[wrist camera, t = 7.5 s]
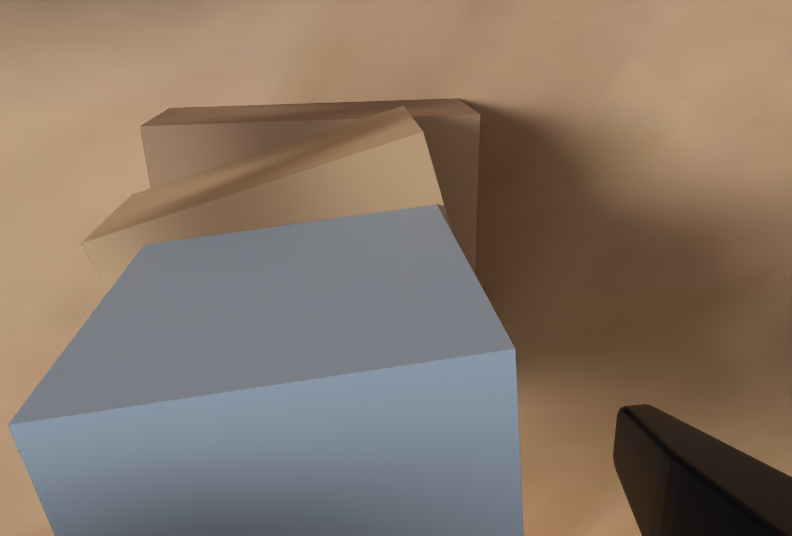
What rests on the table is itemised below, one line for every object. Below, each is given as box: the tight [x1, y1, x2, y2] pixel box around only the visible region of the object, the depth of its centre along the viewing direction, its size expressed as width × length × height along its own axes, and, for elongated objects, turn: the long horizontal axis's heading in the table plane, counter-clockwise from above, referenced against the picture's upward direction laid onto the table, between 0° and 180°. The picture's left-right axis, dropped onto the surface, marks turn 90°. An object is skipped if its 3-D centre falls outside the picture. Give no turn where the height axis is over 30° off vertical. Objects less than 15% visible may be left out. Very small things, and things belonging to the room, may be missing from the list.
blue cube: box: [8, 204, 524, 536], centre depth 10 cm, size 5×5×5 cm
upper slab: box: [81, 106, 452, 293], centre depth 13 cm, size 6×6×3 cm
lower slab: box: [140, 99, 480, 276], centre depth 16 cm, size 7×7×3 cm
